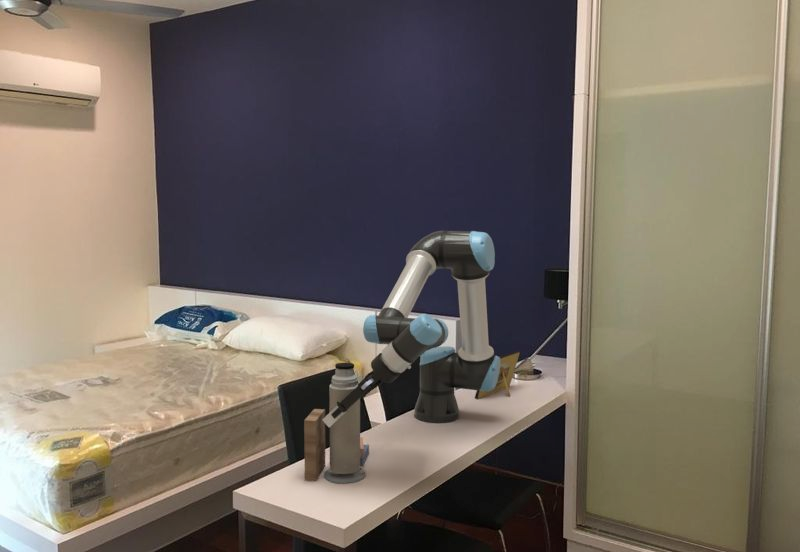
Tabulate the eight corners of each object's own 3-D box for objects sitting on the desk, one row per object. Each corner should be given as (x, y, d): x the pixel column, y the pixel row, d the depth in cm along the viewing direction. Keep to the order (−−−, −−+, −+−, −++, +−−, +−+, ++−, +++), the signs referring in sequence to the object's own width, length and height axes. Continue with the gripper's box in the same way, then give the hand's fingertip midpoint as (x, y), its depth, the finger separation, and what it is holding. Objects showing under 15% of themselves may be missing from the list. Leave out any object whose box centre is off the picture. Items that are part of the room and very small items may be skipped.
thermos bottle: (330, 462, 184) (329, 360, 182) (360, 462, 185) (359, 360, 182) (329, 474, 177) (328, 367, 174) (360, 473, 177) (360, 367, 174)
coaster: (329, 466, 187) (329, 464, 187) (369, 468, 186) (369, 466, 186) (319, 482, 176) (319, 480, 176) (361, 484, 175) (361, 483, 175)
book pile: (343, 451, 198) (343, 436, 197) (369, 453, 197) (369, 437, 196) (335, 465, 188) (334, 448, 187) (362, 467, 187) (362, 450, 186)
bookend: (314, 465, 187) (314, 408, 185) (325, 466, 187) (325, 409, 185) (304, 480, 177) (304, 420, 176) (316, 481, 177) (315, 421, 175)
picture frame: (506, 385, 270) (511, 349, 267) (526, 392, 265) (531, 355, 262) (474, 398, 252) (478, 359, 250) (495, 405, 247) (500, 366, 244)
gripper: (388, 384, 163) (326, 442, 170) (412, 364, 183) (356, 417, 190) (367, 360, 164) (306, 419, 171) (393, 343, 184) (338, 397, 191)
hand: (332, 418), depth 180 cm, fingers closed on thermos bottle, 8 cm apart
